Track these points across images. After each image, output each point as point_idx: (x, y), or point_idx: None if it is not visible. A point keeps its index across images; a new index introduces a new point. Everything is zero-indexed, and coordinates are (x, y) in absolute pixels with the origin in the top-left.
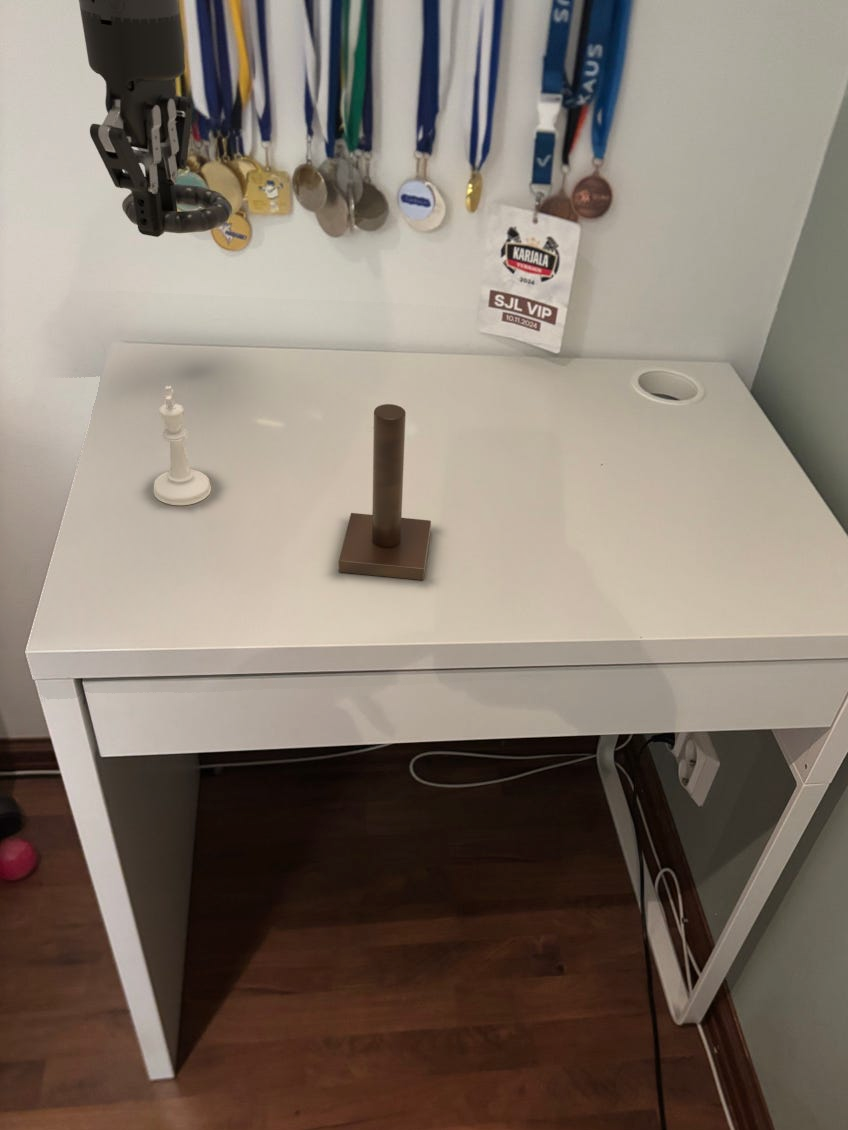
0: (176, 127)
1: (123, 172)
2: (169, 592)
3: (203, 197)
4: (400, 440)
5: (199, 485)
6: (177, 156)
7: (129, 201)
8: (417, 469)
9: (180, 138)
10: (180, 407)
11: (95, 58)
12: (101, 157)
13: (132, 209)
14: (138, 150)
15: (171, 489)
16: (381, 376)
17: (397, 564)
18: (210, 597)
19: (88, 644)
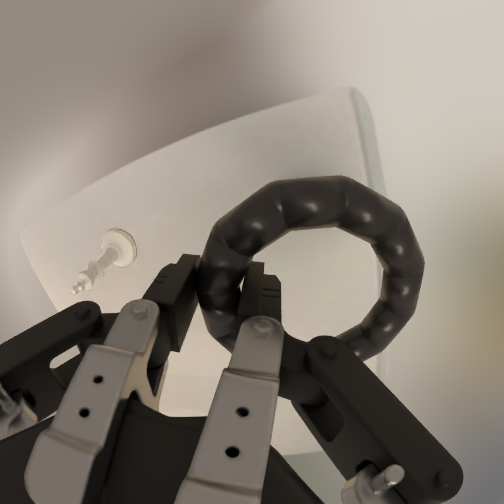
0: (348, 460)
1: (86, 338)
2: (56, 271)
3: (371, 326)
4: None
5: (116, 264)
6: (298, 408)
7: (250, 220)
8: (209, 366)
9: (325, 445)
10: (87, 288)
11: None
12: (6, 342)
13: (213, 241)
14: (138, 400)
15: (104, 249)
16: (335, 333)
17: None
18: (64, 289)
19: (25, 251)
